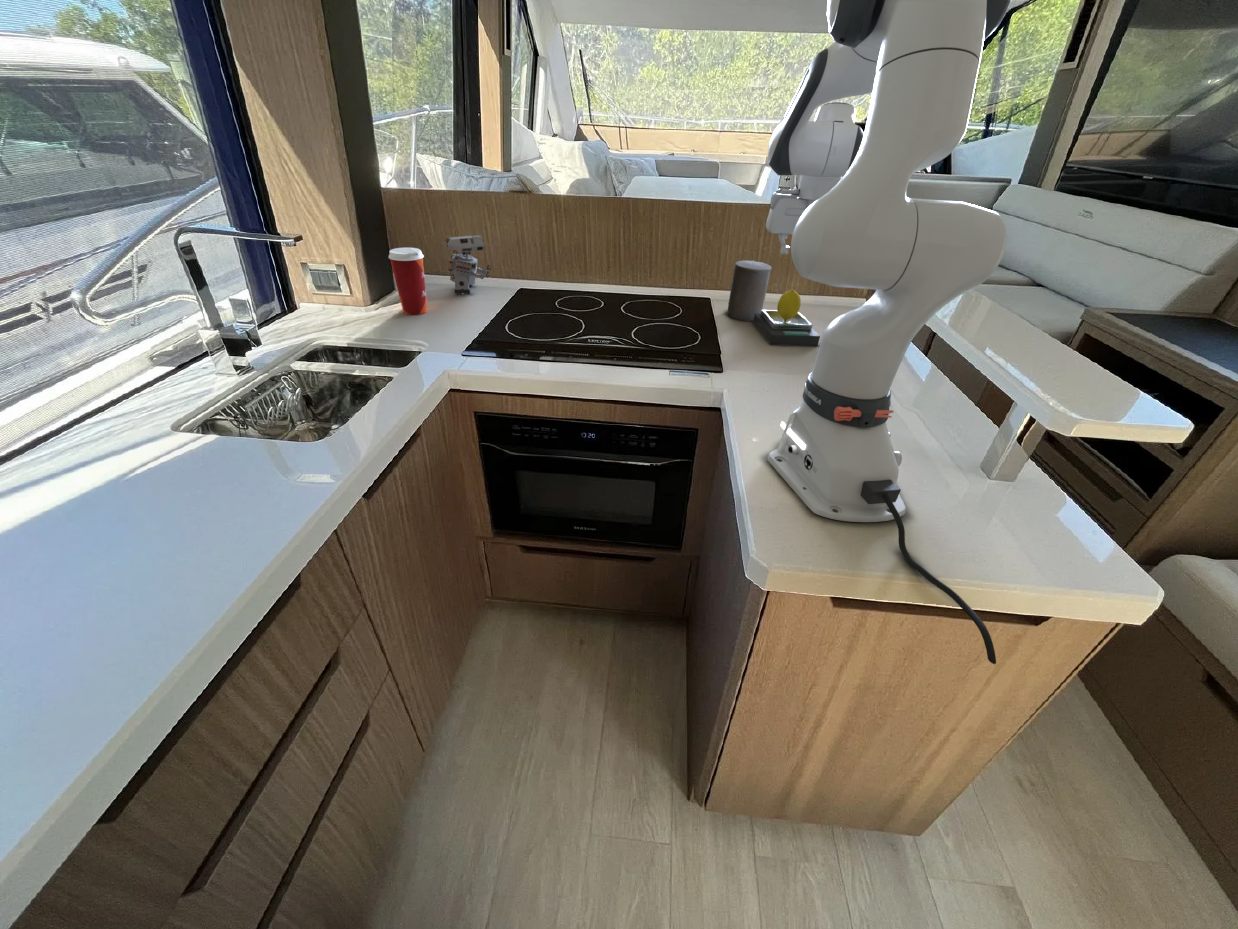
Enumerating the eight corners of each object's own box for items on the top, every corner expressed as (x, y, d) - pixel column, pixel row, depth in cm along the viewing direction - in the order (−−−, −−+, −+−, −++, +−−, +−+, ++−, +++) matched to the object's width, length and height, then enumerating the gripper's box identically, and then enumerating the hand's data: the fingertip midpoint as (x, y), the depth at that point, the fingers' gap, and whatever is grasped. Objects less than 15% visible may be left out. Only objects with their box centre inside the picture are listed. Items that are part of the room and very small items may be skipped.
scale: (817, 345, 130) (820, 334, 129) (770, 344, 129) (773, 332, 128) (795, 323, 144) (798, 313, 142) (753, 322, 143) (755, 311, 141)
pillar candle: (721, 315, 146) (730, 259, 138) (734, 307, 153) (744, 253, 145) (753, 323, 142) (765, 266, 134) (766, 314, 149) (778, 259, 140)
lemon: (797, 325, 133) (804, 293, 128) (774, 323, 134) (781, 291, 129) (795, 318, 137) (803, 287, 133) (773, 316, 138) (780, 285, 134)
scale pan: (811, 331, 132) (812, 324, 131) (772, 329, 131) (773, 323, 130) (796, 316, 141) (797, 310, 140) (760, 315, 140) (761, 309, 139)
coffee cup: (438, 311, 137) (429, 251, 129) (409, 318, 132) (398, 256, 123) (420, 304, 141) (410, 245, 133) (392, 310, 136) (380, 249, 128)
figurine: (490, 295, 151) (486, 239, 143) (449, 294, 149) (442, 238, 141) (492, 286, 158) (487, 233, 150) (453, 285, 157) (446, 231, 148)
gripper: (777, 189, 115) (764, 255, 122) (867, 194, 116) (848, 259, 124) (769, 186, 120) (757, 250, 128) (854, 190, 122) (837, 253, 129)
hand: (802, 254), depth 126 cm, fingers open, 8 cm apart
